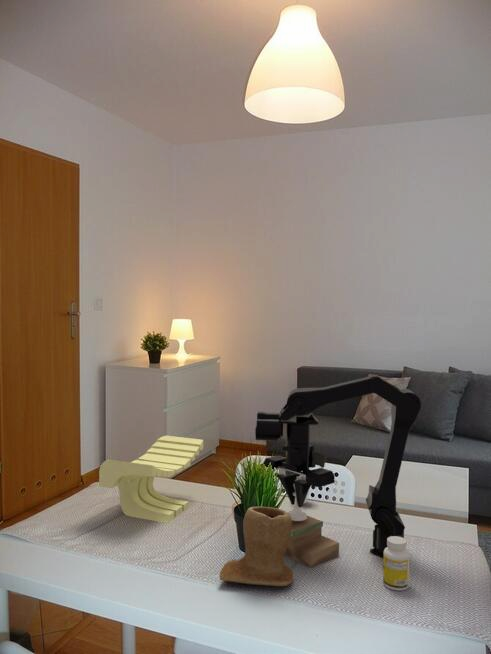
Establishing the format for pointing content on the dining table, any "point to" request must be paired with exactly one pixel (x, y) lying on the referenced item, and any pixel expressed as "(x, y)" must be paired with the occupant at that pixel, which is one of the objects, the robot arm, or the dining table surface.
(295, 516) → the chess piece
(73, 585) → the dining table surface
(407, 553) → the supplement bottle
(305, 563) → the step stand
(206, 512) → the dining table surface
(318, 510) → the dining table surface
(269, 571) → the brown suede boot
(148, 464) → the slatted curved stool
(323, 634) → the dining table surface
